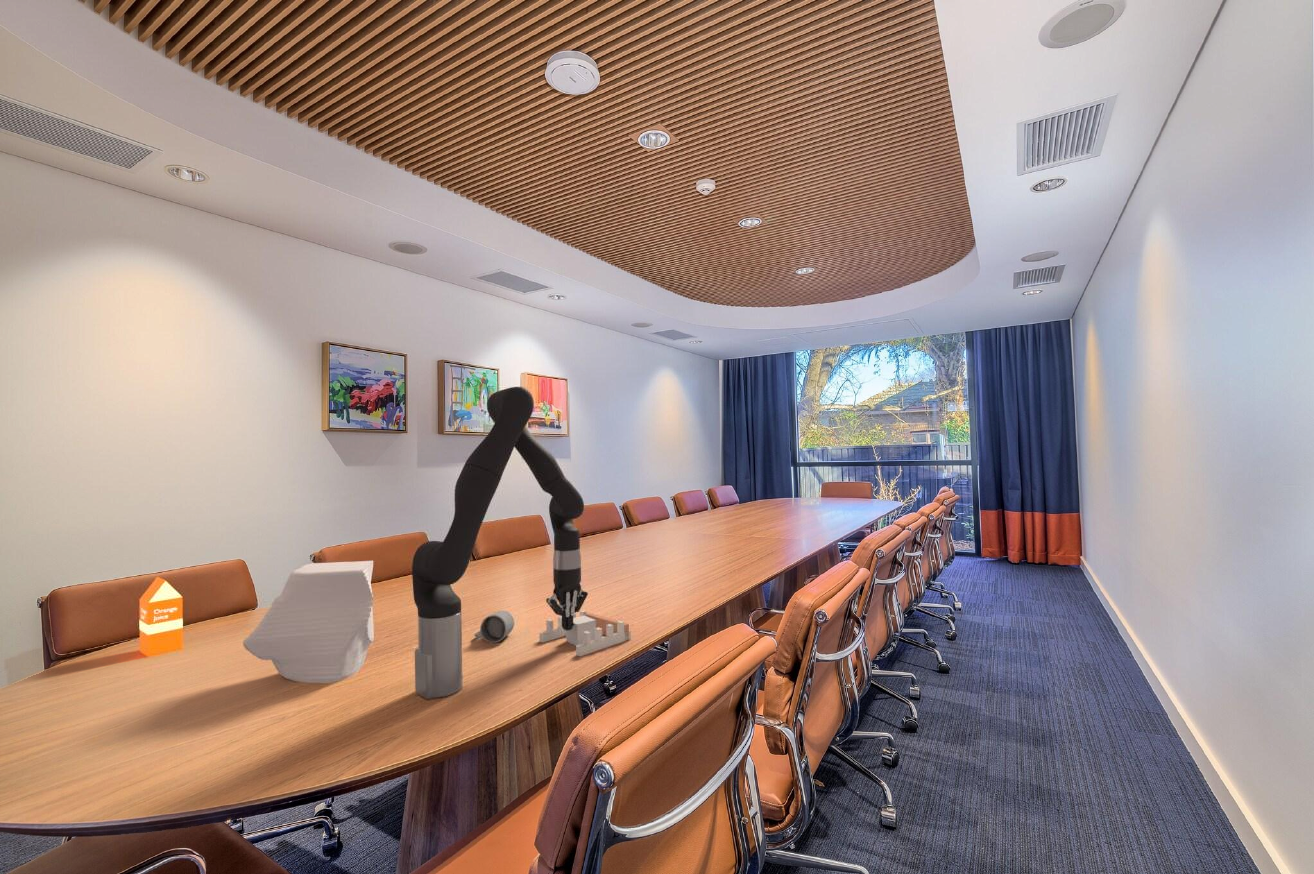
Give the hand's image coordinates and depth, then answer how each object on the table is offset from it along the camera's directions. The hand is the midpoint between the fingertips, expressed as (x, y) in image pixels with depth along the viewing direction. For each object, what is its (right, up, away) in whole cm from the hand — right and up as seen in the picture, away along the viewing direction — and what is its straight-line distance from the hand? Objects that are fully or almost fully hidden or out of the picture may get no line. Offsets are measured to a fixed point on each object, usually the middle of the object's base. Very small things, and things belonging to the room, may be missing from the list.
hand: (567, 629), depth 160 cm
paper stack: (-59, -6, -14) cm, 61 cm away
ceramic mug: (-22, -5, +8) cm, 24 cm away
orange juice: (-115, -7, +4) cm, 115 cm away
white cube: (+3, -5, +3) cm, 7 cm away
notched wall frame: (+4, -4, +4) cm, 8 cm away
